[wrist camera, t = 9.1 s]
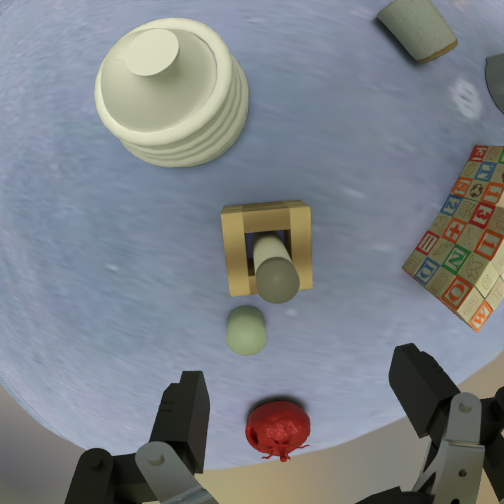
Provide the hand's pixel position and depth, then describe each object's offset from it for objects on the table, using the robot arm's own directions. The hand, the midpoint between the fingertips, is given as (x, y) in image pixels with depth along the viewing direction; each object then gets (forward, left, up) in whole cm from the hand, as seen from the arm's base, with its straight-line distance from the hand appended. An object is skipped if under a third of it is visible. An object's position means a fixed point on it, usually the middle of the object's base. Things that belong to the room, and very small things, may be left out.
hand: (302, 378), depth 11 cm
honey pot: (-15, -7, -22) cm, 27 cm away
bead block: (0, 0, -22) cm, 22 cm away
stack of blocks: (-1, +26, -22) cm, 34 cm away
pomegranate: (+28, 0, -22) cm, 35 cm away
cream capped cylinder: (0, 0, -22) cm, 22 cm away
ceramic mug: (-26, +21, -22) cm, 40 cm away
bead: (+10, -3, -22) cm, 24 cm away
